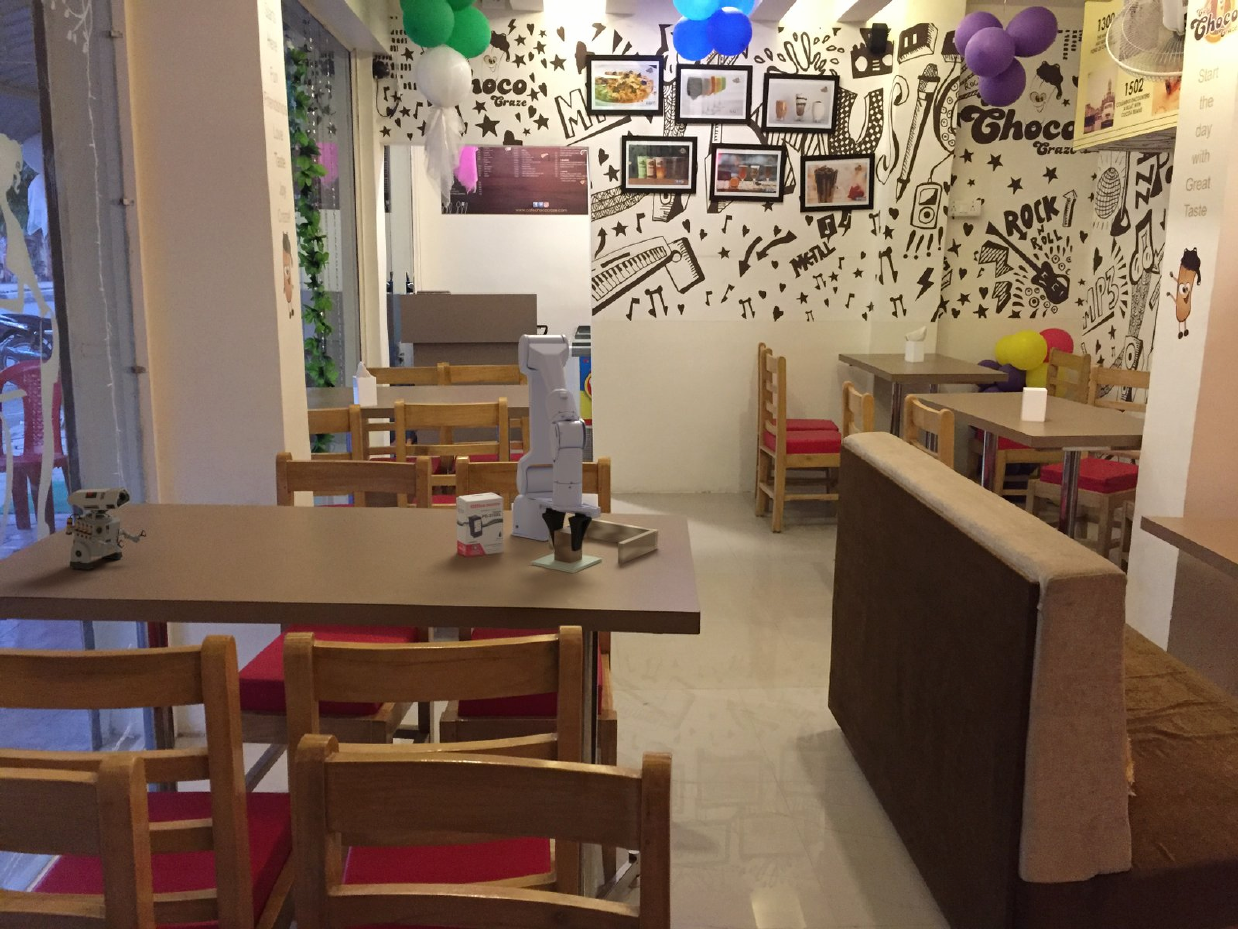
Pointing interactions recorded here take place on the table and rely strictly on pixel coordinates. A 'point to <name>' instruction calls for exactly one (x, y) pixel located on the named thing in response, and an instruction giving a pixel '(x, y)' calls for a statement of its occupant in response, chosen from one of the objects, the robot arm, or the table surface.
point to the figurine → (97, 526)
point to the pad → (567, 567)
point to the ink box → (479, 524)
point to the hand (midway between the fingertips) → (566, 548)
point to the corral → (622, 538)
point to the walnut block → (565, 546)
